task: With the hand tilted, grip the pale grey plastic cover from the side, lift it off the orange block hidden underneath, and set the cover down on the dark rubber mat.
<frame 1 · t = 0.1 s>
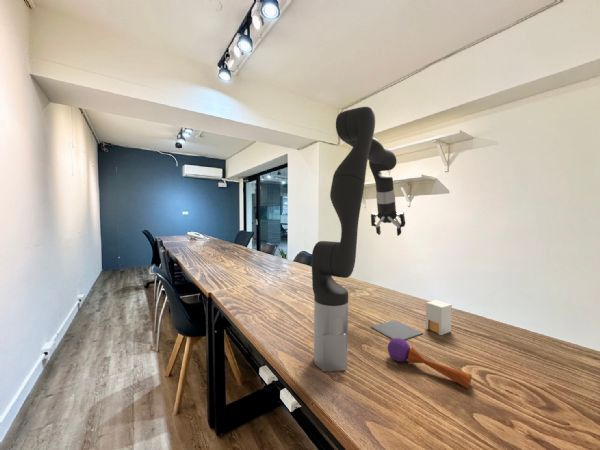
hand: (388, 234, 116), 31 cm above the table, tool tilted 20°, fingers open, 8 cm apart
mat: (396, 330, 90), on the table
block: (438, 330, 91), on the table
cover: (438, 330, 90), on the table
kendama: (425, 371, 68), on the table
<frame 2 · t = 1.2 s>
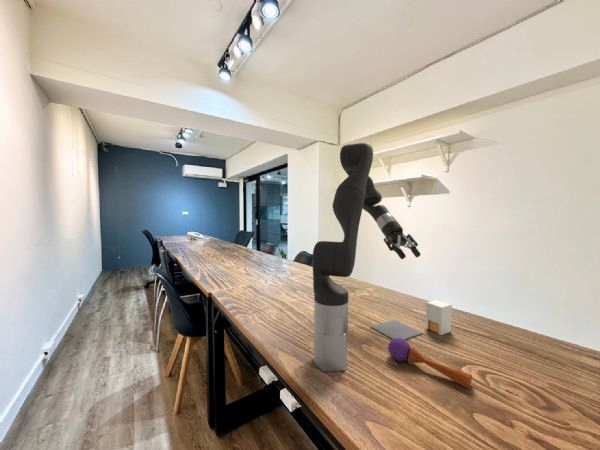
hand: (411, 257, 99), 24 cm above the table, tool tilted 45°, fingers open, 8 cm apart
nothing on the table moved.
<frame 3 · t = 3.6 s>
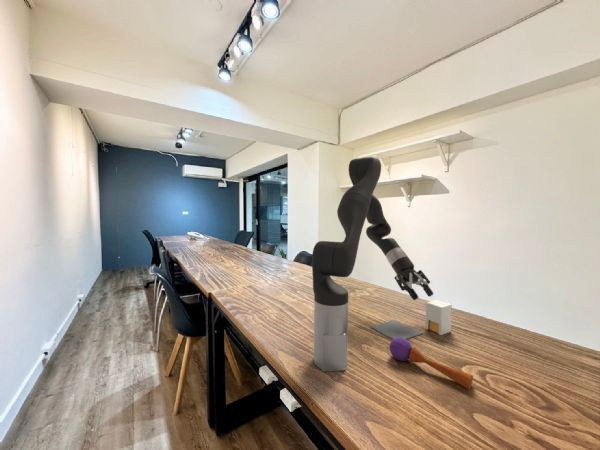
hand: (424, 297, 95), 10 cm above the table, tool tilted 45°, fingers open, 8 cm apart
nothing on the table moved.
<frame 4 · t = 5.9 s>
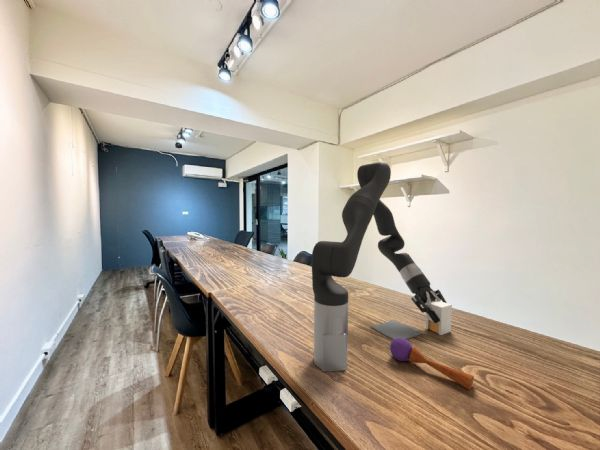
hand: (443, 320, 89), 4 cm above the table, tool tilted 45°, fingers closed on cover, 5 cm apart
cover: (438, 330, 91), on the table, touching gripper
everything else where it was.
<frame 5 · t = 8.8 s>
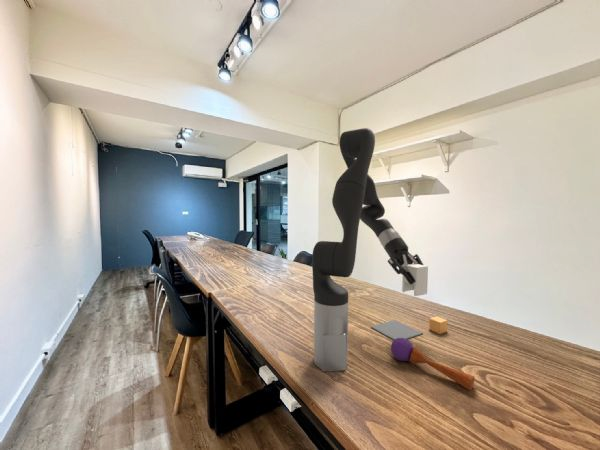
hand: (419, 281, 87), 18 cm above the table, tool tilted 45°, fingers closed on cover, 5 cm apart
cover: (414, 292, 89), point 14 cm above the table, touching gripper
everything else where it was.
when the fingers open (6 cm above the table, at t = 12.1 s): cover drops 1 cm, resting on mat.
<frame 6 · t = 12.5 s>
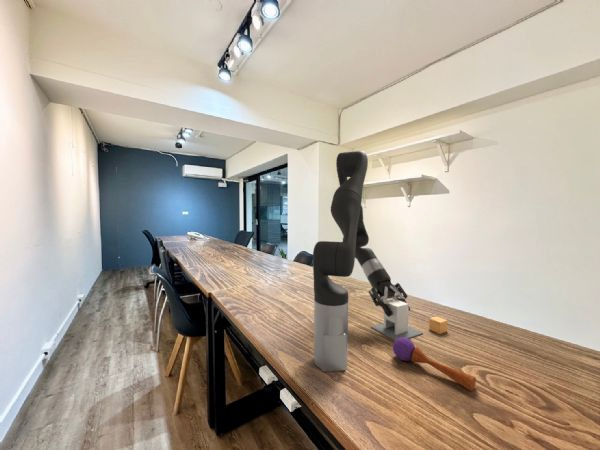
hand: (399, 313, 88), 7 cm above the table, tool tilted 45°, fingers open, 8 cm apart
cover: (395, 329, 90), resting on mat
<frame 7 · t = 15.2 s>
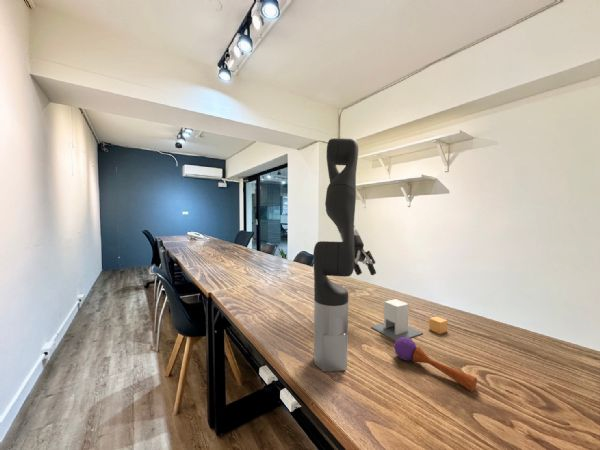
hand: (367, 274, 100), 17 cm above the table, tool tilted 40°, fingers open, 8 cm apart
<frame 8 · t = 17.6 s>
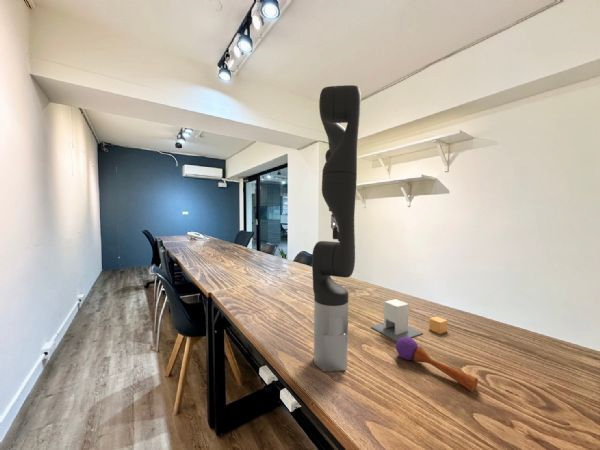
hand: (337, 240, 102), 30 cm above the table, tool pointing down, fingers open, 8 cm apart
at the end: cover 0.1 cm from the mat (horizontally); cover tilted 0°; block moved 0.1 cm from its start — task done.
